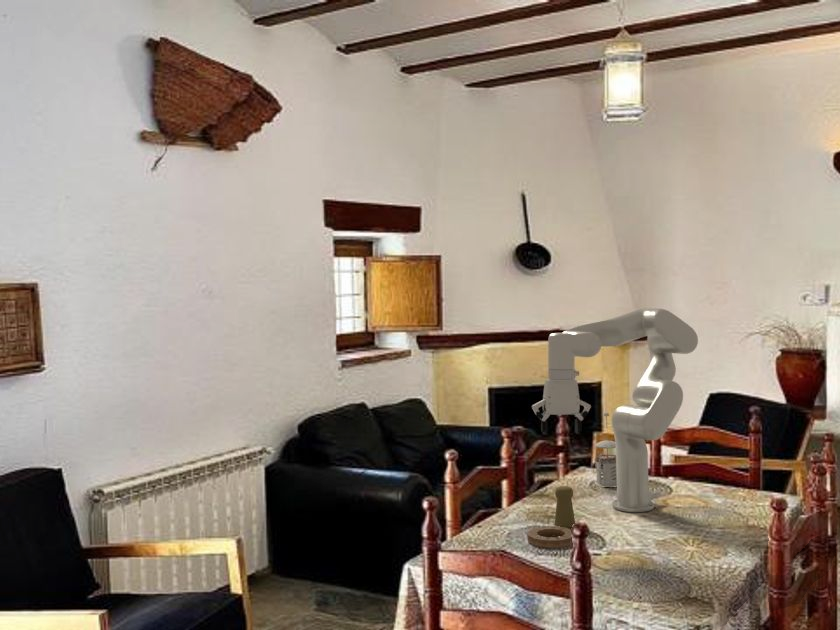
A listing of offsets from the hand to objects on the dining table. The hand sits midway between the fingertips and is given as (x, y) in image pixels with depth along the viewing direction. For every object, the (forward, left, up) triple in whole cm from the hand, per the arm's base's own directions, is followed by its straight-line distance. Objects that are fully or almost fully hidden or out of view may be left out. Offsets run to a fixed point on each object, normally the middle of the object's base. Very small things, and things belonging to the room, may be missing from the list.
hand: (561, 433), depth 239 cm
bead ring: (+12, +11, -26) cm, 31 cm away
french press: (-39, -28, -27) cm, 55 cm away
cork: (0, +1, -27) cm, 27 cm away
